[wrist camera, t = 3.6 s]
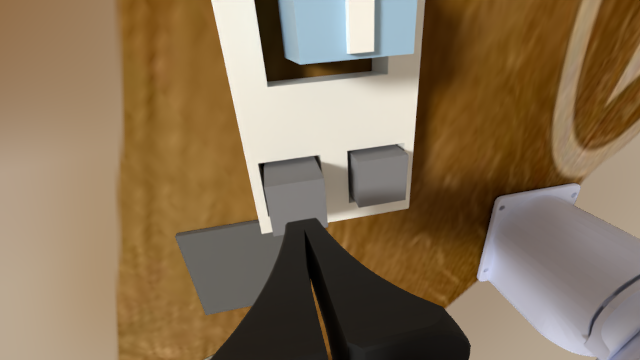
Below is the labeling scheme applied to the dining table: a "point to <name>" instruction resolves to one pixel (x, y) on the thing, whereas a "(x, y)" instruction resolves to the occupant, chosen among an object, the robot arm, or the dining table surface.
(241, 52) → the housing
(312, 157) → the plunger near
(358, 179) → the plunger far
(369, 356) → the robot arm
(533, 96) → the dining table surface
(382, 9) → the block
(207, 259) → the mat
